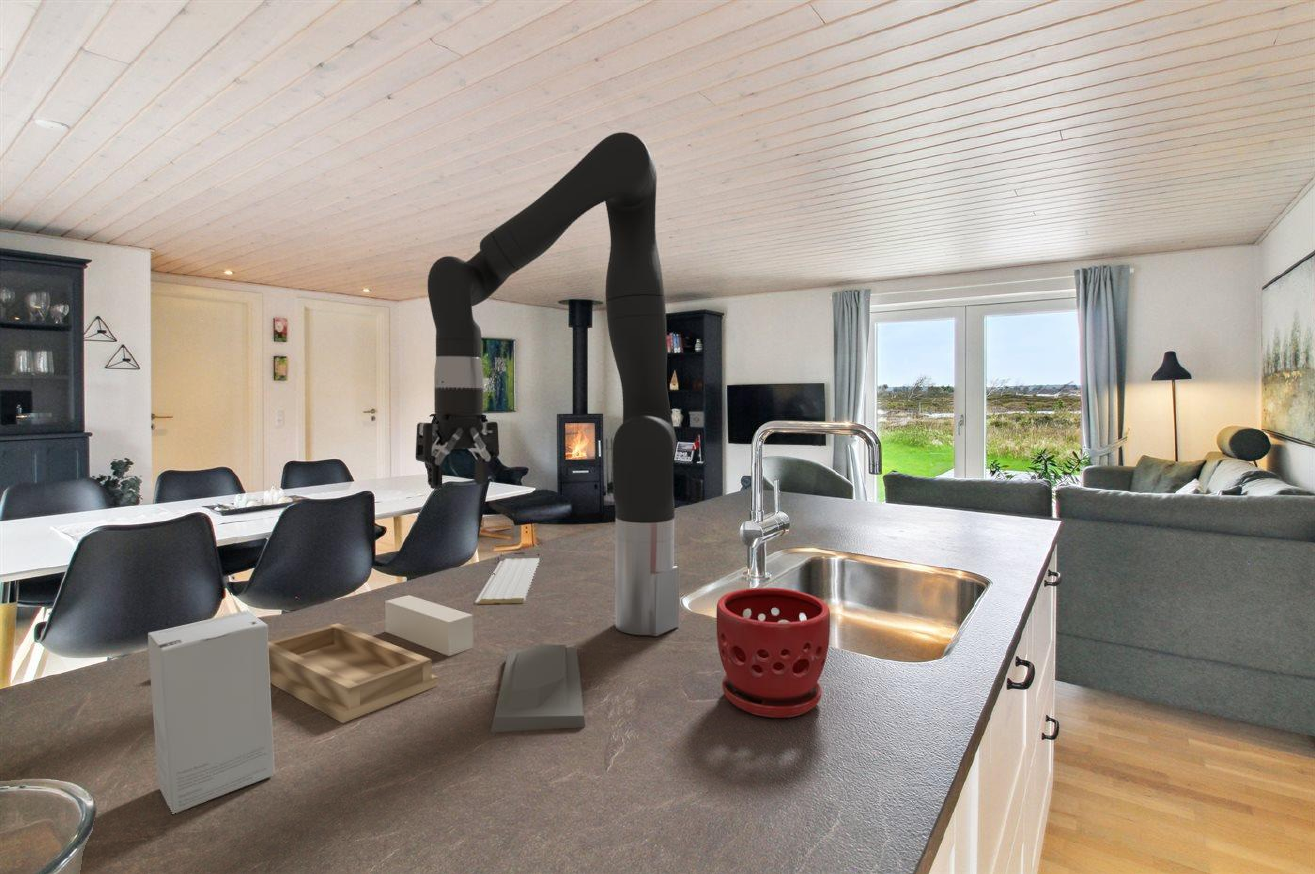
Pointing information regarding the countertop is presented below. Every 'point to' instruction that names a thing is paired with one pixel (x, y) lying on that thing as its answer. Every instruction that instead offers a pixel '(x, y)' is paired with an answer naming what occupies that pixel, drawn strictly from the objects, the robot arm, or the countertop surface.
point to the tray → (346, 671)
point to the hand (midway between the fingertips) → (459, 486)
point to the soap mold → (540, 690)
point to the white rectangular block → (429, 624)
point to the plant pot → (772, 650)
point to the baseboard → (509, 581)
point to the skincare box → (211, 707)
